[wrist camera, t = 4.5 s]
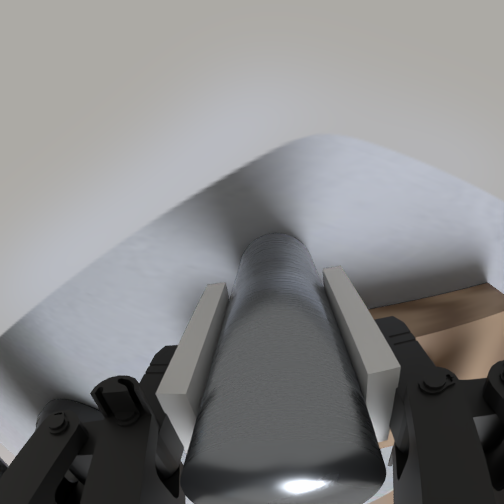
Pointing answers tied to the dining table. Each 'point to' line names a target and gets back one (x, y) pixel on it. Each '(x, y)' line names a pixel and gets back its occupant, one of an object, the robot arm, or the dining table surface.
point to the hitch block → (455, 330)
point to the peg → (281, 395)
